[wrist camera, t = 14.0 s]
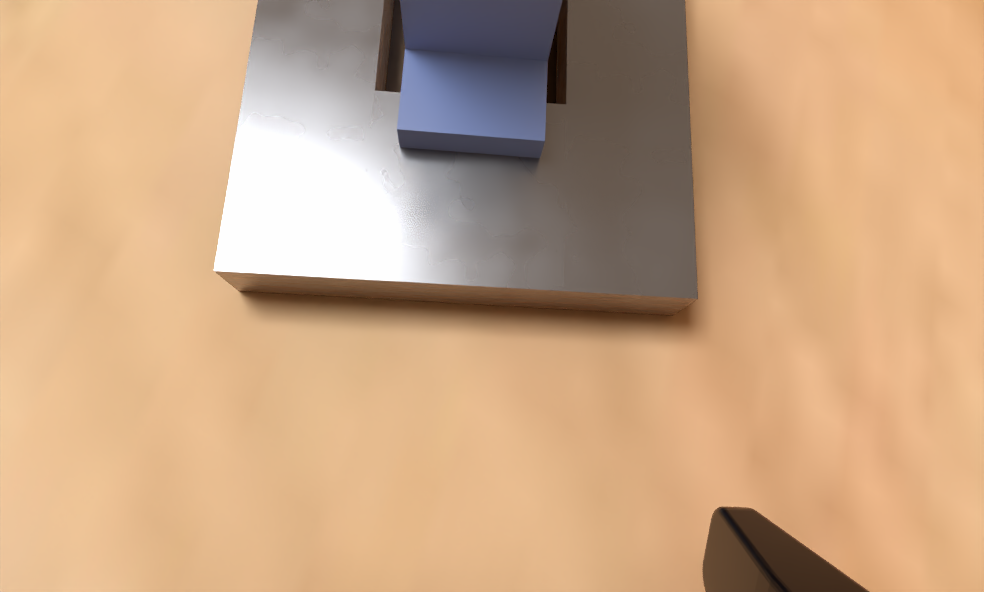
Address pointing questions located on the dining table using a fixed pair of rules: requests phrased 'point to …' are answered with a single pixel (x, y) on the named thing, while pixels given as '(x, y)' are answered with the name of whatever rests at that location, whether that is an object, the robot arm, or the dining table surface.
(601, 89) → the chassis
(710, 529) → the robot arm
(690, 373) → the dining table surface
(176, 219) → the dining table surface
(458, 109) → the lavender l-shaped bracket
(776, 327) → the dining table surface
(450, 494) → the dining table surface
